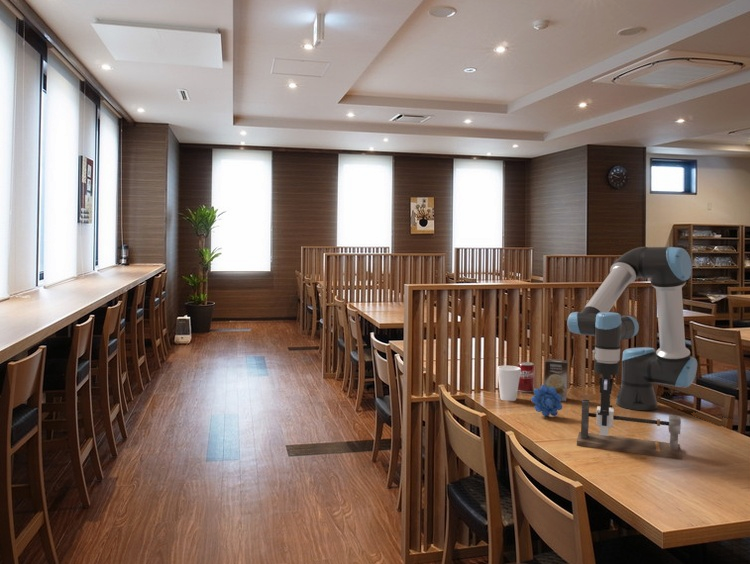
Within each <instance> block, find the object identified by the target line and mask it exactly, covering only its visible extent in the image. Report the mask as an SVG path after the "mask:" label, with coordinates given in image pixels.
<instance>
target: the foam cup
mask: <svg viewBox="0 0 750 564" xmlns="http://www.w3.org/2000/svg"><path fill="white" fill-rule="evenodd" d="M496 369H497V370H496V371H497V372H496V373H497V380H498V387H499V396H500V400H502V401H506V402H514V401H516V400H517V396H518V392H519V391H518V385H519V378H520V374H521V368H519V367H517V366H515V365H498V366H497V368H496Z"/></svg>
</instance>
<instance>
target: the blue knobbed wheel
mask: <svg viewBox="0 0 750 564" xmlns="http://www.w3.org/2000/svg"><path fill="white" fill-rule="evenodd" d="M556 392H557V391H556V389H555V388H554V387H550V388H549V389H548V387H547V386H546V385H544V384H541V386H540V388H538V387H537V388H534V391H533V394H534V395H533V396H531V398H530V400H531V403H532V404H535V405H534V407H533V408H534V410H535V411H536V412H538V413H540V412H541V415H542V416H543V417H547V418H548V417H549V416H550V415H551V416H554V417H555V416H558V413H559V412H558V411H561V410H562V409H563V404H562V403H561V402H562V401H561V400H562V397H561V395H560V394H556Z"/></svg>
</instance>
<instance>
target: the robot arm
mask: <svg viewBox="0 0 750 564" xmlns="http://www.w3.org/2000/svg"><path fill="white" fill-rule="evenodd" d="M692 270H693V266H692V260H691V256H690V254H689V252H688V251H687V250H686V249H684V248H682V247H674V246H639V247H636V248H632V249H631V250H629V251H627V252H625V253H623V254H622V255H621V256H620V257H618V258H617V259H616V260H615V261H614V262H613V264H612V265H611V266H610V268H609V273H608V275H607V277H605V279H604V280H603V282H602V283H601V285H600V286H599V287H598V289H597V290H596V291H595V292H594V294H593V295H592V296H591V298H590V299H589V301H588V302H587V303H586V305H585V306H584V308H582V310H581V312H580V311H573V312H571V313H570V314H569V315H568V317H567V328H568V330H569V332H570V333H572V334H577V335H580V336H581V335H582V336H591V337H595V339H594V340H595V341H594V349H592V353H594V359H595V360H594V362H593V363H594V364H593V372H594V373H595V374H597V375H602V376H601V377H599V382H598V383H599V393H600V406H601V408H600V413H598V415H600V426H599V431H598V432H599V433H598V434H599V435H604V436H610V435H609V431H610V427H609V407H611V408H613V405H612V404H611V394H612V391H613V390H612V389H613V385H614V384H613V383H614V378H612V376H618V375H619V374H620V361H621V385H620V388H619V390H618V393H617V395H616V398H615V404H616V405H617V406H619V407H620V408H621V407H622V408H625V409H629V410H635V411H654V410H657V409H658V400H657V398H656V397H657V396H656V393H655V389H654V384H659V385H660V384H661V385H666V386H670V387H676V388H685V389H686V388H689V387H690V386H692V383H693V382H694V380H695V378H696V374H697V372H698V371H697V370H698V361H697V359H696V357H691V351H690V349H689V348H687V347H686V337H685V322H684V321H685V320H684V318H685V317H684V305H683V301H684V300H683V290H682V289H683V287H684V286H685V285H686V283H687V280H689V279H690V278H691V276H692ZM637 279H650V285H651V286H652V287H653V288H654V289H655V296H656V298H655V299H656V309H657V323H658V324H657V325H658V337H659V348H658V349H657V350H655V347H654V348H653V347H630V348H626V349H624V350H623V352H622V357H621V341H623V340H630V339H632V338H634V337H635V336H636V335H637V334H638V332H639V330H640V329H639V328H640V326H639V322H638V321H637V319H636V318H635V317H634V316H630V315H621V314H620V313H618V312H612V311H611V309H612V308H613V306H614V305H615V304H616V302H617V301H618V299H619V298H620V297H621V296H622V294H623V292H624V291H625V289H626V288H627V287H628V286H629V285H630V284H632V283H634V281H635V280H637ZM635 282H636V281H635ZM621 358H622V359H621Z"/></svg>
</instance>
